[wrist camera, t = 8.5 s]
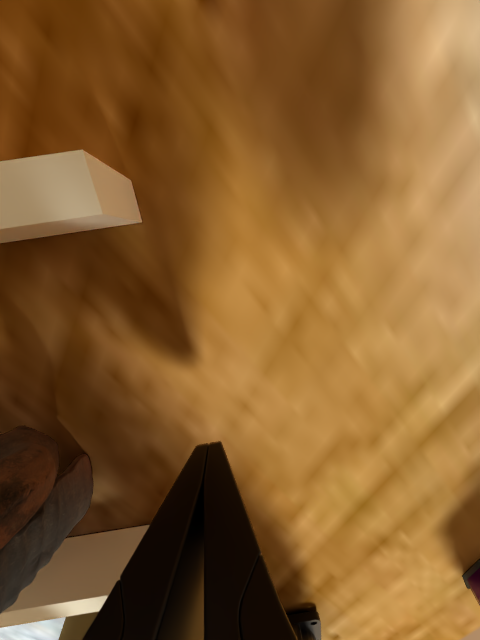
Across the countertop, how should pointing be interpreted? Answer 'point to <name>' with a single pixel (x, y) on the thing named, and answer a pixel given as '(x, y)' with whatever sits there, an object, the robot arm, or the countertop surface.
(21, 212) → the cream bay
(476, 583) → the potion bottle
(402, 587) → the countertop surface
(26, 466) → the brown looped piece
